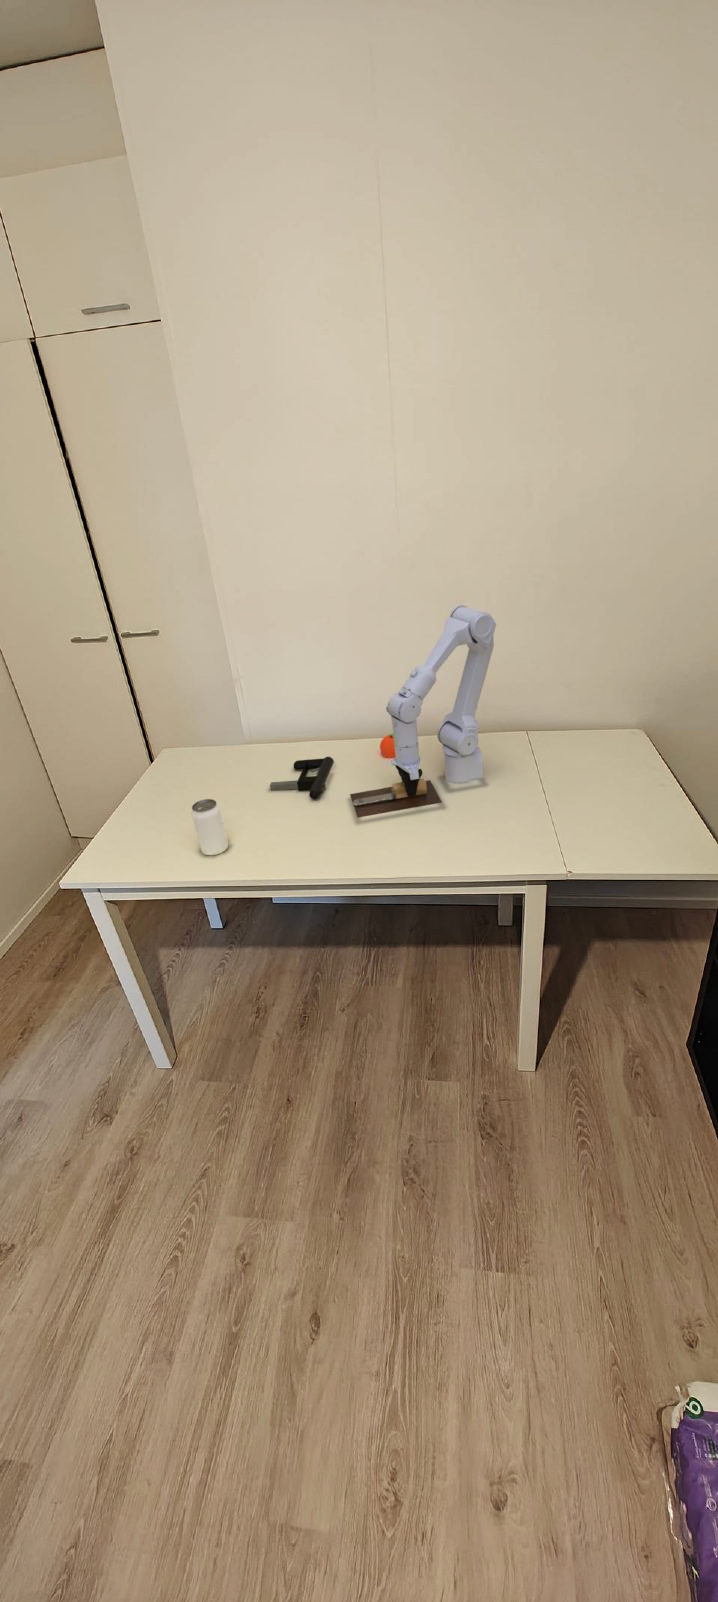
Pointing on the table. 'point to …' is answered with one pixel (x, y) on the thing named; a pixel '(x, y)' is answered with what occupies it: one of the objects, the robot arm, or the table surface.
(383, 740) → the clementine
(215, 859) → the table surface
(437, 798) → the board
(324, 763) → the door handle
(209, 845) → the can
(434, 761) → the table surface
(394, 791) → the knife
